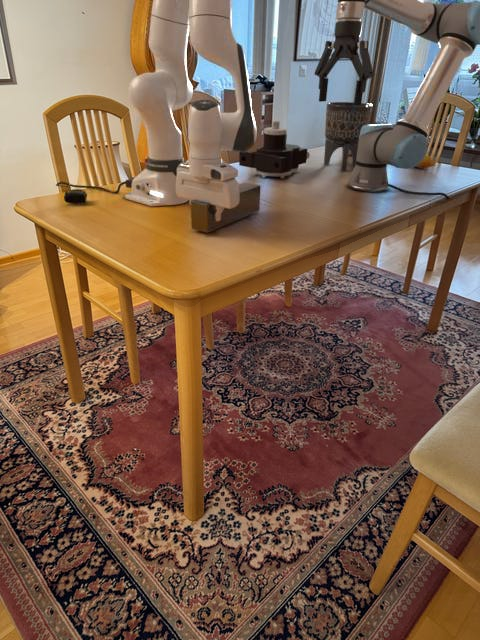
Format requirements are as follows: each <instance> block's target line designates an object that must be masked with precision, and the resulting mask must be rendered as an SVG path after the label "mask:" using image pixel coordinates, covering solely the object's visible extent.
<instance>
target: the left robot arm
mask: <svg viewBox="0 0 480 640" xmlns="http://www.w3.org/2000/svg"><path fill="white" fill-rule="evenodd" d="M232 8H233V7H232V0H152V6H151V15H150V25H149V32H148V33H149V35H148V47H149V50H150V52H151V53H152V55H153V59H154V64H155V71H154V72H144V73H142V74H139V75H137V76H134V78H132V80H131V81H130V82H129V85H128V89H127V94H128V99H129V102H130V104H131V105H132V107H133V108H135V110H136V111H137V112H138V114H139V115H140V117H141V120H142V123H143V125H144V128H145V132H146V140H147V149H148V157H146V158H144V159H142V164H145V167H144V169H143V170H142V171H141V172H140V173H138V174H137V175H136V176H135V177H130V178H128V179H125V181H122V182H120V183H119V184H118V186H117V189H116V190H115V191H112V190H109V189H108V188H105V187H102V186H98V185H97V186H96V185H80V184H79V185H78V184H73V183H68V182H66V181H59V182H57V183H56V184H55V186H56V187H58V186H59V185H65V186H69V187H71V188H77V189H97V190H102V191H104V192H107V193H111V194H118V193H120V190H121V187H122V186H123V185H125V188H129V189H131V191H129V192H128V193H126V194H125V196H124V198H125V199H126V200H128V201H129V200H130V201H132V202H135V203H139V204H143V205H147V206H149V207H160V206H175V205H182V204H184V203H187V202H189V203H188V204H189V206H190V207H191V201H193V200H197V201H202V202H206V203H210V204H211V205H215V206H216V209H217V212H216V214H213V220H214V221H220V220H221V213H222V211H223V210H224V208H228V209H232V208H234V207H236V206H237V205H238V204H239V185H240V184H239V183H240V182H239V181H238V179H237V177H238V176H239V170H238V169H237V168H236V167H234V166H233V165H231V164H229V163H228V162H227V161H225V160H223V152H222V151H232V152H236V153H237V152H238V153H239V152H246V151H250V150H251V149H252V148H253V146H255V144H256V140H257V135H258V133H257V132H258V131H257V125H256V120H255V116H254V113H253V105H252V98H251V89H250V81H249V73H248V66H247V62H246V61H247V59H246V55H245V52H244V48H243V46H242V45H241V44H240V43H239V42H237V40H236V38H235V36H234V32H233V9H232ZM188 41H189V42H190V44H191V46H192V48H193V50H194V51H195V52H196V53H197V54H198V55H199V57H201V58H202V59H204V60H206V61H207V62H210V63H211V64H213V65H216V66H218V67H220V68H222V69H224V70H226V71H227V72H228V73H229V74H230V75H231V77H232V80H233V85H234V93H235V100H236V101H235V102H236V111H234V112H221V107H220V104H219V102H217V101H215V100H212V99H199V100H195V101H193V102H191V101H192V98H193V93H194V90H193V85H192V82H191V81H190V79H189V75H188V67H187V65H188V64H187V49H188V43H189V42H188ZM190 102H191V103H190ZM189 103H190V105H189ZM187 105H189V110H188V120H187V122H186V139H187V142H188V143H189V152H188V160H189V165H185V158H184V156H183V155H184V154H183V135H182V131H181V130H180V128H179V127H178V126H177V124H176V122H175V119H174V115H173V111H177V110H180V109H182V108H184V107H185V106H187ZM69 184H70V185H69Z"/></svg>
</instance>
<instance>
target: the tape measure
mask: <svg viewBox="0 0 480 640" xmlns="http://www.w3.org/2000/svg"><path fill="white" fill-rule="evenodd" d="M87 198H88V193H87V192H86V191H85V190H84V189H82V188H75V189H74V188H73V189H69V190H65V192H64V196H63V200H64V202H65V203H67V204H74V205H78V204H82V203H83V204H84V203H85V204H86V203H87Z"/></svg>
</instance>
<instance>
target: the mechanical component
mask: <svg viewBox="0 0 480 640" xmlns="http://www.w3.org/2000/svg"><path fill="white" fill-rule="evenodd" d="M287 138H288V129H287V128H286V127H280V121H279V120H272V126H271V127H265V128H264V129H263V145H262V146H258V147H257V148H256V151H250V150H248V151H246V152H238V154H239V155H238V157H239V159H238V166H240V167H245V168H250V169H255V173H256V174H257V175H261V177H262V178H267V177H279V178H280V179H285V176H291V175H292V173H298V171H299V167H300V165H303V164H304V165H305V164H307V160H309V158H310V156H311V154H310V152H309V151H308V148H304V147H301V146H299V145H297V144H290V143H287Z"/></svg>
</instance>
